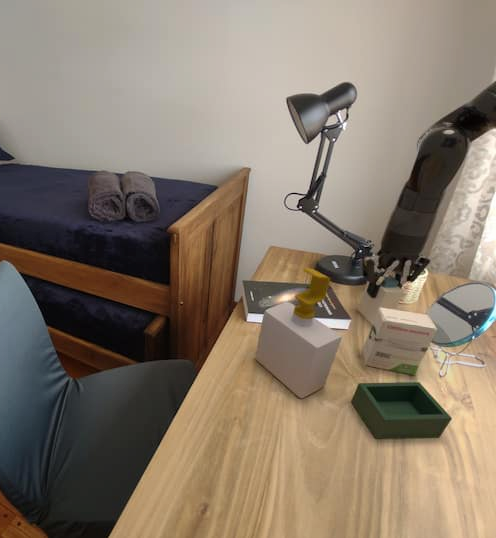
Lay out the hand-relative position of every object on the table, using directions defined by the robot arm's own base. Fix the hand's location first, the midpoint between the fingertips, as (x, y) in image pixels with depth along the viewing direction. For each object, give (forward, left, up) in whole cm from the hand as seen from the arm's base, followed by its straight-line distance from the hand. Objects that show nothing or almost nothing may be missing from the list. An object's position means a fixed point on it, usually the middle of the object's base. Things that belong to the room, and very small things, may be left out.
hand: (381, 295), depth 83 cm
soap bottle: (+27, +17, -6) cm, 33 cm away
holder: (+13, +28, -6) cm, 32 cm away
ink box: (+6, +15, -6) cm, 17 cm away
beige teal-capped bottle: (0, 0, -6) cm, 6 cm away
